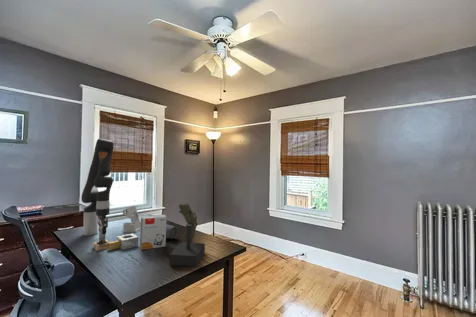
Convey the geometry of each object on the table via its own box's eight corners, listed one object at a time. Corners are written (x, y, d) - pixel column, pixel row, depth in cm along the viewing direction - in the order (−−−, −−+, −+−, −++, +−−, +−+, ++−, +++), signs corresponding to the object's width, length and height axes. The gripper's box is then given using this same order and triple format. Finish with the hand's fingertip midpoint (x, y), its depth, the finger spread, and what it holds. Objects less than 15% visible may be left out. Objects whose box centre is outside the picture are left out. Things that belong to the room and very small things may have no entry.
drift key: (107, 249, 144) (108, 242, 144) (123, 245, 150) (123, 239, 150) (109, 250, 142) (109, 243, 142) (124, 246, 148) (124, 240, 149)
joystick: (179, 252, 143) (179, 220, 143) (205, 253, 141) (205, 221, 141) (166, 266, 124) (167, 229, 124) (196, 268, 122) (196, 230, 122)
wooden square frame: (93, 247, 148) (93, 242, 148) (107, 244, 153) (107, 239, 153) (96, 250, 142) (96, 246, 142) (110, 247, 148) (110, 242, 148)
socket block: (116, 245, 151) (117, 236, 151) (132, 242, 158) (132, 233, 158) (121, 250, 144) (122, 240, 144) (138, 246, 151) (138, 237, 151)
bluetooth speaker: (144, 237, 169) (144, 223, 169) (153, 233, 177) (153, 220, 177) (169, 241, 160) (169, 227, 160) (177, 237, 169) (177, 224, 169)
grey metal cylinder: (97, 247, 148) (98, 225, 148) (104, 245, 150) (104, 224, 150) (99, 249, 145) (99, 226, 145) (106, 247, 148) (106, 225, 148)
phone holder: (133, 232, 178) (134, 209, 179) (121, 232, 180) (121, 209, 180) (144, 226, 196) (145, 205, 196) (133, 226, 197) (134, 205, 197)
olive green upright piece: (203, 246, 150) (194, 201, 153) (198, 250, 143) (189, 203, 146) (185, 248, 155) (177, 204, 157) (179, 252, 148) (171, 206, 150)
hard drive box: (140, 250, 144) (141, 218, 144) (139, 246, 151) (140, 216, 151) (166, 246, 151) (166, 216, 151) (164, 242, 158) (164, 214, 158)
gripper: (112, 208, 146) (112, 233, 145) (106, 205, 156) (105, 228, 155) (99, 210, 140) (98, 236, 140) (93, 206, 150) (92, 231, 150)
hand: (102, 232), depth 148 cm, fingers open, 8 cm apart
